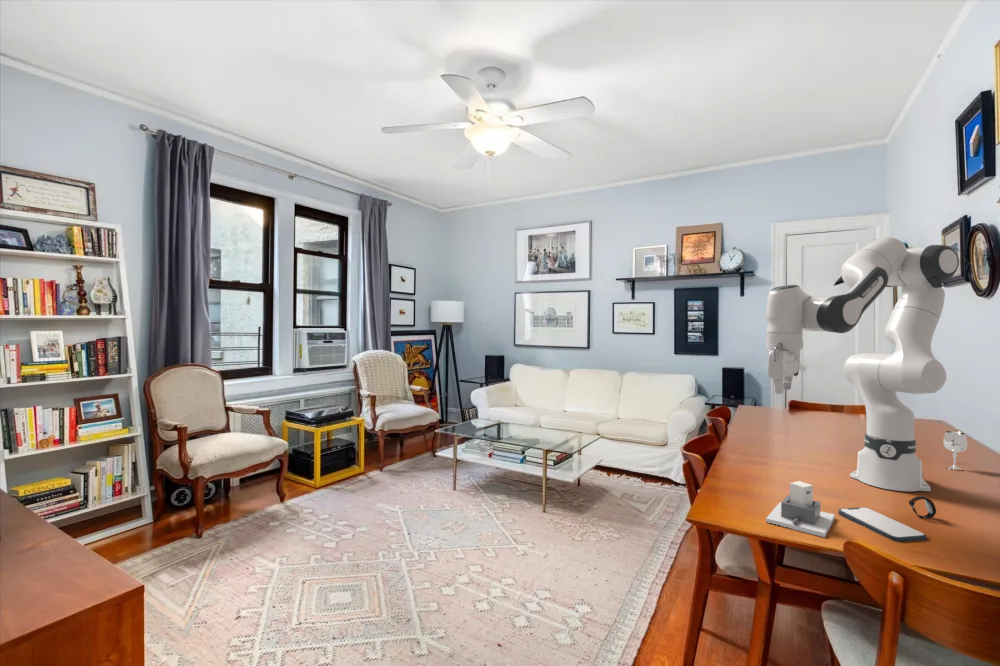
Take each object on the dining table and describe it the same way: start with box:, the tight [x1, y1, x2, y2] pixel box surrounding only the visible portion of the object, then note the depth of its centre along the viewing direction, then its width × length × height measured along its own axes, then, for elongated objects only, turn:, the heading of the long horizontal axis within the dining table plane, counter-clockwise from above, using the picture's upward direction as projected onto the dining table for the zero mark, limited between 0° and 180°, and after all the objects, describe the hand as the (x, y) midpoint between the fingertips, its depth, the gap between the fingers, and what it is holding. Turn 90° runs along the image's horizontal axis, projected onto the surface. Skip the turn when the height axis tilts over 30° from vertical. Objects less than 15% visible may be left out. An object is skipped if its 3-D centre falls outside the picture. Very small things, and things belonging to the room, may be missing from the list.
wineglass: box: [942, 430, 968, 469], centre depth 158 cm, size 6×6×12 cm
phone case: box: [838, 507, 928, 543], centre depth 115 cm, size 9×2×16 cm
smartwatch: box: [908, 496, 937, 519], centre depth 120 cm, size 4×5×5 cm
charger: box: [789, 480, 814, 508], centre depth 118 cm, size 3×4×8 cm
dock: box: [765, 494, 836, 538], centre depth 118 cm, size 14×12×4 cm
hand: (783, 391), depth 136 cm, fingers open, 8 cm apart
